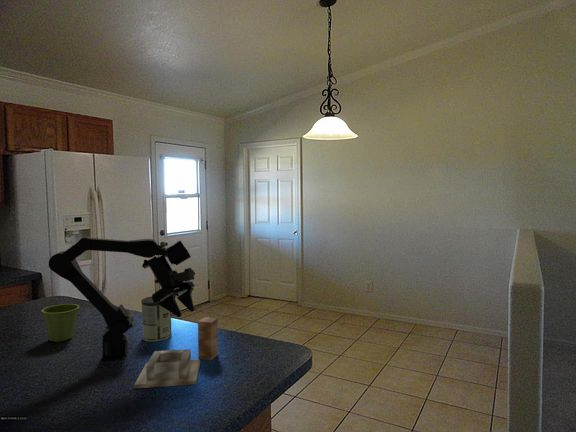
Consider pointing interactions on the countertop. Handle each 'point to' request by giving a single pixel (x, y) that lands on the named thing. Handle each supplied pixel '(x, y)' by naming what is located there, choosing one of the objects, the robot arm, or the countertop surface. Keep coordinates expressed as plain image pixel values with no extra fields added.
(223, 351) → the countertop surface
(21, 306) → the countertop surface
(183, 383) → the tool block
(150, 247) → the robot arm
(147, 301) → the coffee can
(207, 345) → the wooden peg
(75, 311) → the plant pot
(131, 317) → the drill bit
